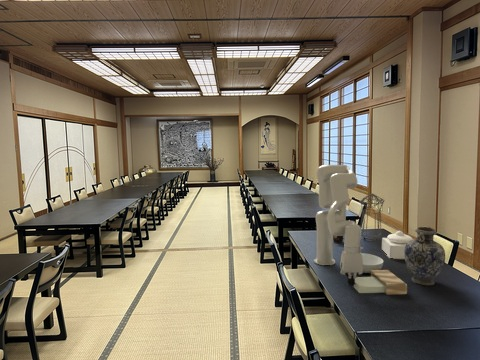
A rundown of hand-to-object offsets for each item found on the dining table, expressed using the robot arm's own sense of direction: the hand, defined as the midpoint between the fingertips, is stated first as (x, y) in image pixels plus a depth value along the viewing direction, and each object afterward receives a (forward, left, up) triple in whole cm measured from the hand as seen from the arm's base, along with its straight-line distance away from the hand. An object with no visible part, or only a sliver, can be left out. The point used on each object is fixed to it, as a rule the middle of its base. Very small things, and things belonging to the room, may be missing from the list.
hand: (351, 285), depth 170 cm
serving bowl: (-23, +16, -2) cm, 28 cm away
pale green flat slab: (0, +10, -1) cm, 10 cm away
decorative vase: (-5, +40, -2) cm, 40 cm away
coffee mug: (-77, +21, -2) cm, 80 cm away
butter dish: (-47, +50, -2) cm, 69 cm away
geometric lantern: (-81, +46, -2) cm, 93 cm away
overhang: (0, +18, -1) cm, 18 cm away
